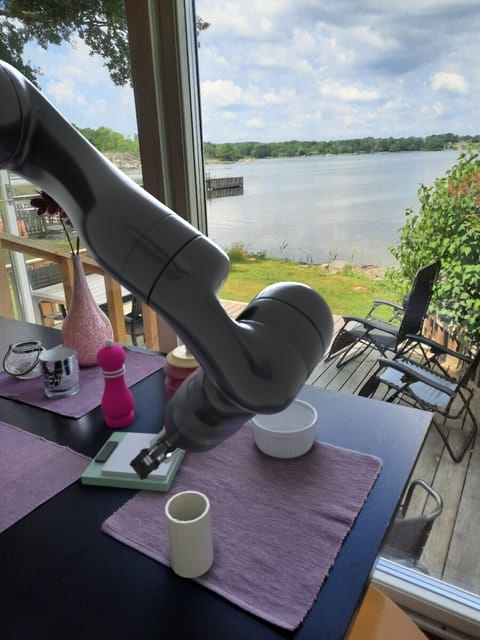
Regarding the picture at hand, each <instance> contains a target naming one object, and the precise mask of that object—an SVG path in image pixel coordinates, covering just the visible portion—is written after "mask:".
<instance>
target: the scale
mask: <svg viewBox="0 0 480 640" xmlns="http://www.w3.org/2000/svg"><path fill="white" fill-rule="evenodd" d="M157 434H158V433H157ZM157 434H156V433H143V432H130V431H129V432H126V431H125V432H123V431H113V432H112V434H111V435H110V437H109V438H108V440H106V442H105V443H104V445H103V446H102V448H101V449H100V450H99V451H98V453H97V454H96V456H94V458H93V460H92V461H91V462H90V463H89V465H88V466H87V467H86V468H85V470H84V471H83V473H82V474H81V475H80V480H81V485H90V486H91V485H92V486H102V487H112V488H125V489H135V490H148V491H157V492H158V491H159V492H169V489H170V488H171V485H172V483H173V480H174V479H175V477H176V474H177V472H178V470H179V467H180V465H181V463H182V461H183V458H184V457H185V454H186V452H187V451H185V452H181V453H180V454H178V455H177V456H176V457H175V458H174V459H173V460H171V461H170V462H169V463H167V464H166V463H161V464H160V465H159V466H158V467H159V468H158V469H157V470H153V471H152V472H151V473H150V474H149V475H148V477H147V478H146V479H143V480H141V479H140V478H139V476H138V474H137V473H136V472H135V471H134V469H133V468H132V467H131V466H130V465H129V464H130V463H131V461H132V460H133V459H134V458H135V457H136V456H137V455H138V454H139V453H140V451H141V450H142V449H143V448H144V449H145V448H146V447H148V448H149V447H150V441H151V440H152V439H153V438H154V437H155V436H156V435H157ZM178 449H179V448H178ZM178 449H176V450H175V451H177V450H178ZM152 451H153V450H152ZM175 451H174V452H175ZM174 452H173V453H174ZM157 459H158V460H160V456H159V457H158V458H157Z"/></svg>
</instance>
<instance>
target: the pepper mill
mask: <svg viewBox="0 0 480 640" xmlns="http://www.w3.org/2000/svg"><path fill="white" fill-rule="evenodd" d="M126 359H127V355H126V352H125V350H124V348H123V347H121V346H120V345H118V344H114V340H113V339H111V338H107V339H105V341H104V346H102V347H100V348H99V349H98V351H97V353H96V363H97V365H98V366H99V367H100V372H101V373H100V375H101V376H102V377H103V379H104V390H103V393H102V397H101V401H100V410H101V413H102V414H104V415H105V416H104V420H105V424H106V426H108V427H110V428H115V429H116V428H123V427H126V426H128V425H130V424H132V423H133V422H134V421H135V412H134V411H133V410H134V409H135V405H136V401H135V397H134V396H133V393H132V391H130V389H129V387H128V386H127V383H126V381H125V373H126V366H125V364H124V363H126Z"/></svg>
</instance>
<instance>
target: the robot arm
mask: <svg viewBox="0 0 480 640" xmlns="http://www.w3.org/2000/svg"><path fill="white" fill-rule="evenodd" d="M3 170H4V171H6V172H9V173H11V174H13V175H15V176H17V177H19V178H21V179H22V180H25V181H27V182H28V183H30V184H32V185H33V186H35V187H36V188H38V189H40V190H41V191H43V192H44V193H46V195H48V196H49V197H51V198H52V200H54V201H55V202H56V203H57V204H58V206H59V207H60V208H61V209H62V210H63V211H64V213H65V214H66V216H67V217H68V219H69V221H70V224H71V225H72V227H73V230H74V231H75V233H76V235H77V236H78V238H79V240H80V242H81V244H82V245H83V247H84V249H85V250H86V252H87V253H88V255H89V256H90V257H91V258H92V260H93V261H94V262H95V263H96V264H97V266H98V267H100V269H102V270H103V272H104V273H105V274H106V275H108V276H109V277H110V278H111V279H112V280H114V281H115V282H116V283H117V284H119V285H120V286H121V287H123V288H124V289H125V290H126V291H128V292H129V293H130V294H131V295H133V296H134V297H135V298H137V299H138V300H139V301H140V302H141V303H142V304H144V305H145V306H146V307H148V308H149V309H150V310H151V311H153V312H154V313H156V314H157V315H159V317H161V318H162V320H164V322H165V323H166V324H167V325H168V327H169V328H170V329H171V330H172V332H174V334H175V335H176V336H177V338H178V339H179V340H180V341H181V342H182V345H185V346H186V347H187V349H188V350H189V351H190V353H191V354H192V355H193V357H194V358H195V359H196V361H197V362H198V363H199V367H198V368H197V369H196V370H195V372H193V373H192V374H191V375H189V376H188V377H187V378H186V379H185V381H184V382H183V383H182V385H181V386H180V387H179V388H178V390H177V391H176V392H175V394H174V395H173V396H172V398H171V399H170V400H169V402H168V401H167V402H166V403H167V404H166V406H165V408H164V411H163V427H162V430H160V431H159V432H158V433H157V435H156V436H155V437H154V438H153V439H152V440H151V441H150V447H149V448H148V447H146V448H145V449H144V448H143V449H142V450H141V451H140V453H139V454H138V455H137V456H136V457H135V458H134V459H133V460H132V461H131V463H130V464H129V465H130V466H131V467H132V468H133V469H134V471H135V472H136V473H137V474H138V476H139V478H140V479H141V480H143V479H146V478H147V477H148V475H149V474H150V473H151V472H152V471H153V470H157V469H158V468H159V467H158V466H159V465H160V464H161V463H166V464H167V463H169V462H170V461H171V460H173V459H174V458H175V457H176V456H177V455H178V454H180V453H181V452H185V451H186V452H188V453H193V454H203V453H206V452H207V453H208V452H210V451H211V450H213V449H215V448H216V447H218V446H219V445H221V444H222V443H224V442H225V441H226V440H228V439H229V438H231V437H232V436H234V435H235V434H236V433H238V431H240V430H241V429H242V428H243V426H244V425H245V424H247V423H248V422H249V421H251V419H252V418H253V417H255V416H256V415H257V414H259V415H273V414H277V413H280V412H282V411H284V410H285V409H287V408H288V407H289V406H290V405H291V404H292V402H293V401H294V400H295V399H296V398H297V397H298V395H299V394H300V393H301V391H302V390H303V387H304V386H305V384H306V383H307V381H308V380H309V378H310V377H311V375H312V374H313V372H314V371H315V369H316V368H317V366H318V364H319V363H321V360H322V358H323V357H324V356H325V354H326V352H327V351H328V349H329V348H330V345H331V343H332V341H333V337H334V331H335V320H334V316H333V313H332V310H331V309H332V308H330V305H329V304H328V302H327V301H326V299H325V298H324V297H323V296H322V294H320V293H319V291H317V290H315V289H314V288H312V287H311V286H309V285H306V284H303V283H300V282H294V281H284V282H283V281H282V282H278V283H274V284H271V285H269V286H267V287H265V288H264V289H262V290H261V291H259V292H258V293H257V294H256V295H255V297H253V298H252V300H251V301H250V302H249V303H248V304H247V305H246V307H245V308H244V309H242V311H241V312H240V313H239V314H238V315H237V316H236V317H235V319H234V318H233V317H231V316H230V314H229V313H228V311H227V310H226V308H225V307H224V305H223V304H222V302H221V300H220V298H219V295H220V294H221V292H222V290H223V289H224V287H225V285H226V283H227V282H228V279H229V277H230V273H231V267H232V266H231V260H230V258H229V256H228V255H227V253H226V252H225V251H224V250H223V249H222V248H221V247H220V246H219V245H217V244H216V243H215V242H214V241H212V240H211V239H210V238H208V237H207V236H206V235H204V234H203V233H202V232H201V231H199V230H198V229H197V228H195V227H194V226H192V225H191V224H190V223H189V222H188V221H186V220H184V219H183V218H182V217H180V216H179V215H178V214H177V213H175V212H174V211H172V210H171V209H170V208H168V207H167V206H166V205H164V204H163V203H161V202H160V200H158V199H156V198H155V197H154V196H153V195H151V194H150V193H149V192H147V191H146V190H145V189H143V188H142V187H141V186H140V185H138V184H137V183H136V182H135V181H133V180H132V179H131V178H130V177H129V176H127V175H126V174H125V173H124V172H122V171H121V170H120V169H119V168H118V167H117V166H116V165H114V164H113V163H112V162H111V160H109V159H108V158H107V157H105V155H103V154H102V153H101V152H100V151H99V150H98V149H97V147H95V146H94V145H93V144H91V142H90V141H89V140H87V138H86V137H84V136H83V134H81V132H80V131H79V130H78V129H76V128H75V127H74V125H72V123H70V121H68V120H67V118H66V117H65V116H63V114H62V113H61V112H60V111H59V110H58V109H57V108H56V107H55V106H54V105H53V104H52V102H51V101H50V100H49V99H48V98H47V97H46V96H45V95H44V94H43V93H42V92H41V91H40V90H39V89H38V88H37V87H36V86H35V85H34V84H33V83H32V82H31V81H30V80H29V79H28V78H27V77H26V76H25V75H24V74H22V73H21V71H19V70H18V69H17V68H16V67H14V66H13V65H11V64H10V63H8V62H6V61H4V60H3V59H0V171H3ZM178 448H179V449H178ZM176 449H178V450H177V451H175V450H176ZM152 450H153V451H152ZM174 451H175V452H174ZM173 452H174V453H173ZM186 452H185V453H186ZM159 456H160V460H158V459H157V458H158V457H159Z"/></svg>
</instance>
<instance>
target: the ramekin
mask: <svg viewBox="0 0 480 640" xmlns="http://www.w3.org/2000/svg"><path fill="white" fill-rule="evenodd" d="M318 421H319V417H318V412H317V410H316V409H315V407H314V406H313V405H311V404H310V403H308V402H306V401H303V400H301V399H298V398H297V399H296V398H295V400H294V401H293V402H292V404H291V405H290V406H289V407H288V408H287V409H285V410H284V411H282V412H280V413H277V414H273V415H259V414H257V415H256V416H255V417H253V418H252V419H250V424H251V425H252V431H253V436H254V442H255V444H256V446H257V448H258V449H259V450H260V451H261V452H263V453H264V454H266V455H267V456H270V457H273V458H277V459H294V458H298V457H301V456H302V455H305V454H306V453H307V452H309V451H310V449H312V446H313V445H314V441H315V435H316V428H317V426H318V423H319V422H318Z"/></svg>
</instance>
